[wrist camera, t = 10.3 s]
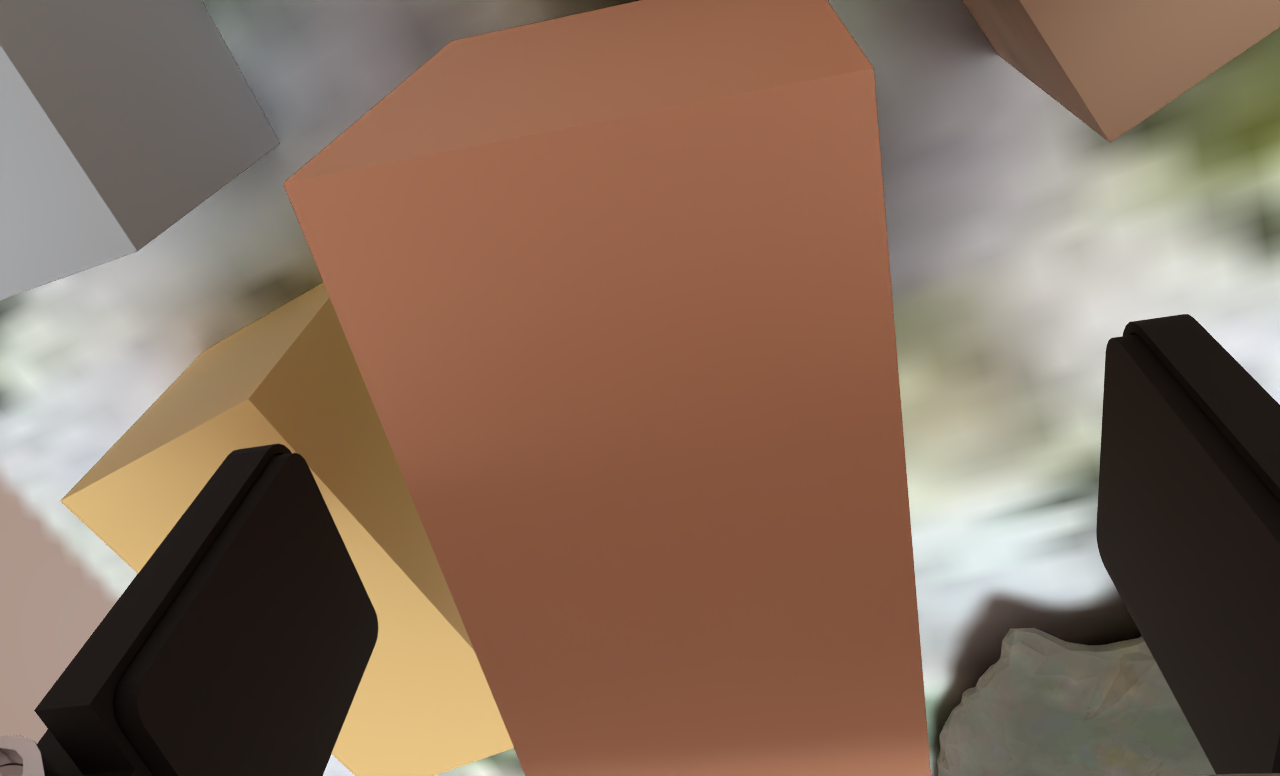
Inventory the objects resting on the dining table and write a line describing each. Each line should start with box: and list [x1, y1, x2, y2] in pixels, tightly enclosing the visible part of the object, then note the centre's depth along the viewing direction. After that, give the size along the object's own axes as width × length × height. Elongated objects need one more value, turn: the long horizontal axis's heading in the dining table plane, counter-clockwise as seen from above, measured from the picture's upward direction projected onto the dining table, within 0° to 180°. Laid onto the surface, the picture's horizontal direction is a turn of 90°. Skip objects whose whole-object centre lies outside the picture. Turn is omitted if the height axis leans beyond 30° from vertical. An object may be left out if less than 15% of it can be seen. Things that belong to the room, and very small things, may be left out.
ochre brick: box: [61, 282, 514, 776], centre depth 18 cm, size 8×4×5 cm, turn 30°
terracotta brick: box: [283, 0, 931, 776], centre depth 10 cm, size 8×4×5 cm, turn 12°
